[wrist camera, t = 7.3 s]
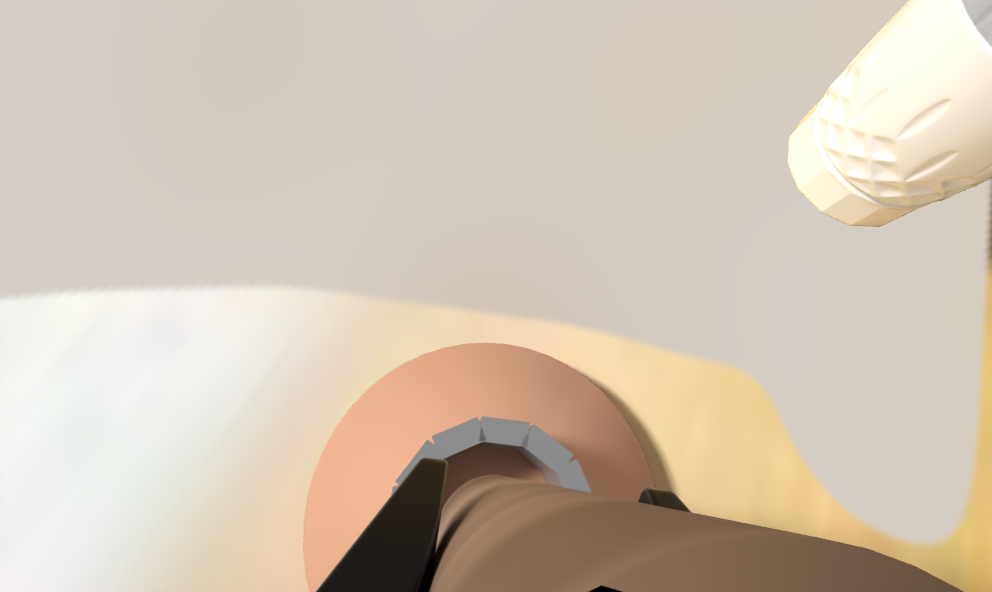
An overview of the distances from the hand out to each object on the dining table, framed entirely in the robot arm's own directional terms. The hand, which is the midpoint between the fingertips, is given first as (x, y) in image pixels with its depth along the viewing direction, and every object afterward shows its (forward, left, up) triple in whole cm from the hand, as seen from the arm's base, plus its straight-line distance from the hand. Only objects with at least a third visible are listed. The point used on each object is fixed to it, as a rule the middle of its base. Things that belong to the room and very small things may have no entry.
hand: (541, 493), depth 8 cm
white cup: (-6, -23, -14) cm, 27 cm away
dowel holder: (-1, +1, -13) cm, 14 cm away
